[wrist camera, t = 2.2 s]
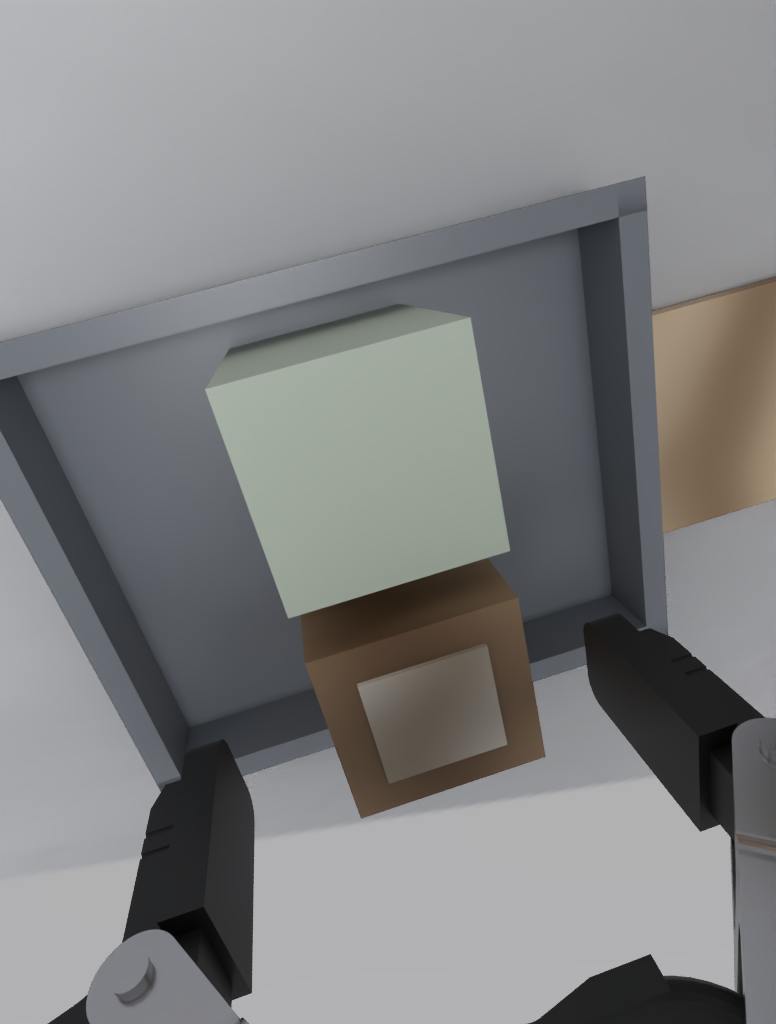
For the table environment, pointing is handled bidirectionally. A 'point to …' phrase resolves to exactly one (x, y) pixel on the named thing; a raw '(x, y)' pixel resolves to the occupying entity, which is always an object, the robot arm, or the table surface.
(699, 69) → the table surface
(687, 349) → the cork pad
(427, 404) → the sage block
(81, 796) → the table surface
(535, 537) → the tray
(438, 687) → the walnut block
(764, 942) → the robot arm
